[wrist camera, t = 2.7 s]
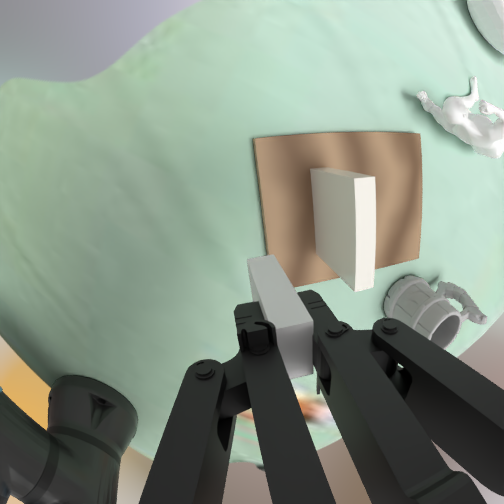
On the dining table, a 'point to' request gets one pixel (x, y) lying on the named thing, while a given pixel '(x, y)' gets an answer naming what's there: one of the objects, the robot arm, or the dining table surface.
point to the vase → (489, 20)
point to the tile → (345, 224)
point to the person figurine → (470, 121)
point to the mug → (431, 308)
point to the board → (349, 159)
